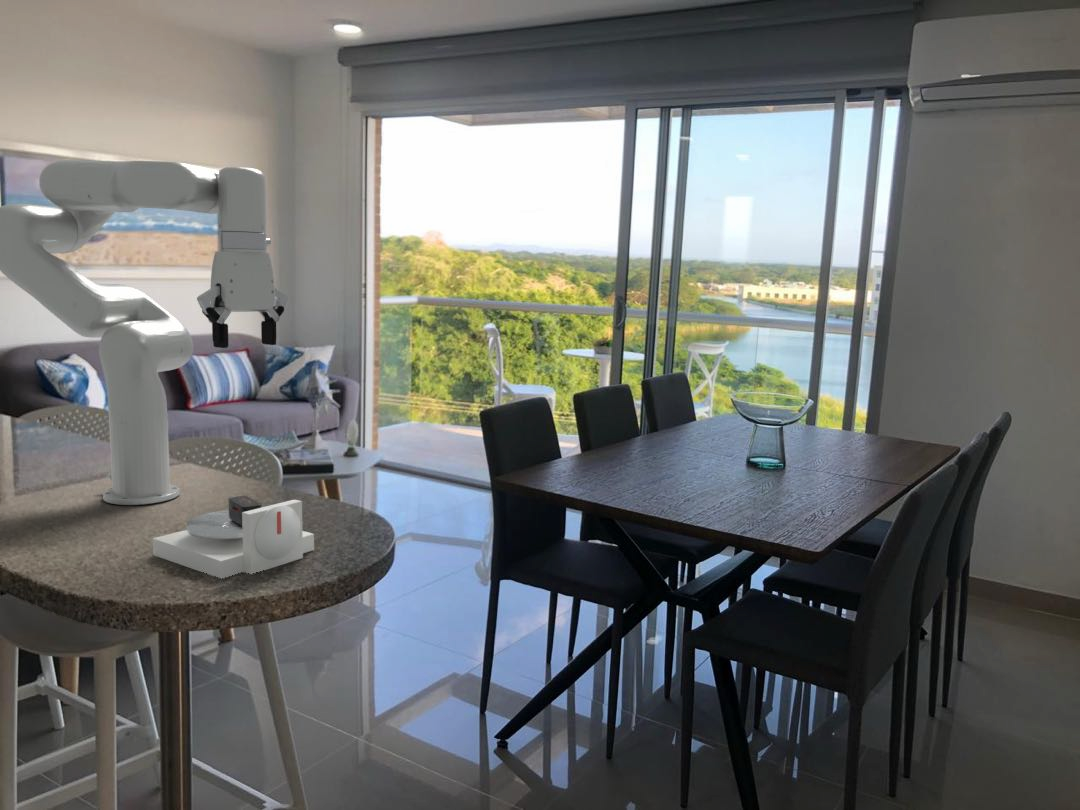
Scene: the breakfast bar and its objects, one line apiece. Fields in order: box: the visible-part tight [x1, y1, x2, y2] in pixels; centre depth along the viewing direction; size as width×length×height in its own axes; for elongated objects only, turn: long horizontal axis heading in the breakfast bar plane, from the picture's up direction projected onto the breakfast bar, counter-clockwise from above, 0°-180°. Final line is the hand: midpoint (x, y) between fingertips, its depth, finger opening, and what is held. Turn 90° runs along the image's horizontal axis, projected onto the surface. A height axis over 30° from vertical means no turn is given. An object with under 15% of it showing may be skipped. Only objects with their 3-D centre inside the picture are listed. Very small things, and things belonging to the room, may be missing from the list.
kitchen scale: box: [152, 499, 315, 580], centre depth 128 cm, size 18×16×9 cm
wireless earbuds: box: [227, 495, 263, 526], centre depth 127 cm, size 5×7×3 cm, turn 40°
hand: (245, 345), depth 149 cm, fingers open, 9 cm apart
